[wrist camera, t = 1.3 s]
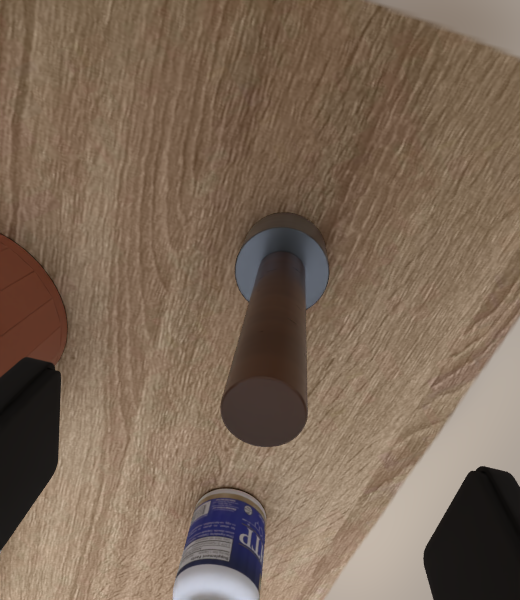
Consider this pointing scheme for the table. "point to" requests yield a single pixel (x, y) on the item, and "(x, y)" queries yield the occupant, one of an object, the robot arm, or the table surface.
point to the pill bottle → (223, 549)
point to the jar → (28, 310)
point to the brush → (274, 329)
